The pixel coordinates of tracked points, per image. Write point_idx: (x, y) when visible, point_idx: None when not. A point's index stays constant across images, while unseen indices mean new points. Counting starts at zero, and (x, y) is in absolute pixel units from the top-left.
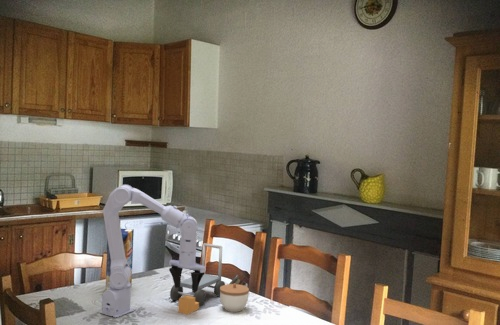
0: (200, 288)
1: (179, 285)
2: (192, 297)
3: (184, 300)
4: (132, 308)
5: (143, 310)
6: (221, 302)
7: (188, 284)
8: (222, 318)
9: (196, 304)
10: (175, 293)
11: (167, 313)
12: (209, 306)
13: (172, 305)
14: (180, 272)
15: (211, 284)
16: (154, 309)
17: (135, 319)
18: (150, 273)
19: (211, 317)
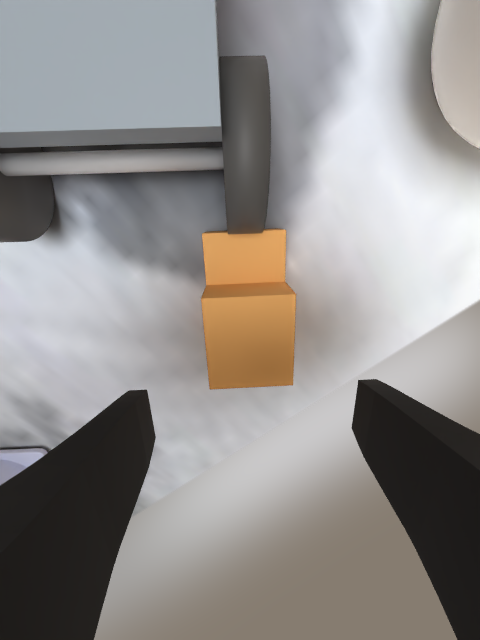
0: (219, 74)
1: (143, 404)
2: (275, 309)
3: (261, 385)
4: (28, 458)
5: (70, 425)
6: (466, 134)
7: (59, 131)
8: (474, 272)
9: (284, 264)
10: (15, 209)
11: (186, 389)
12: (311, 132)
13: (110, 283)
14: (26, 577)
15: None
16: (94, 388)
17: (139, 501)
18: None
19: (411, 298)
